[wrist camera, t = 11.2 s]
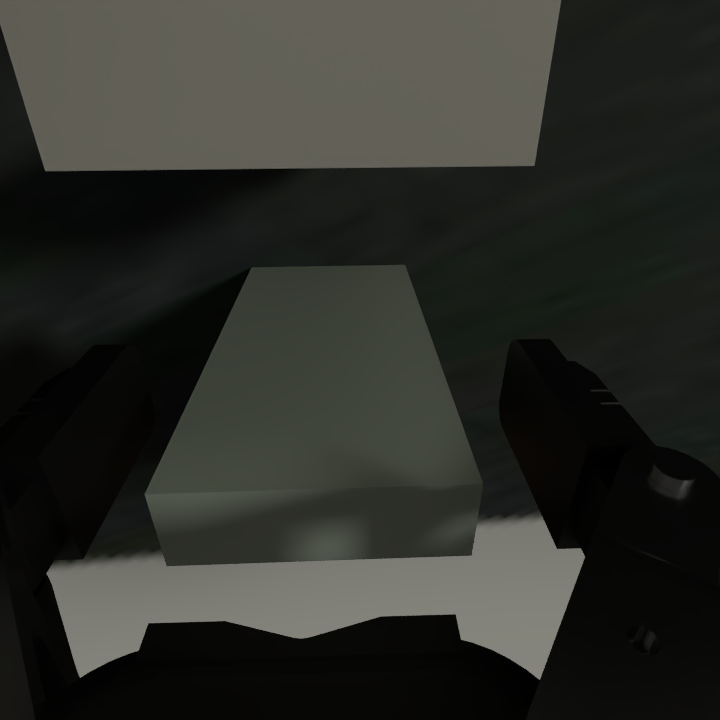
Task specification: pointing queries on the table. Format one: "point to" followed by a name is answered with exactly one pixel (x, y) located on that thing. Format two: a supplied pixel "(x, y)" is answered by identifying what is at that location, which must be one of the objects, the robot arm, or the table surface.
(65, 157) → the domino
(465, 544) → the sage domino
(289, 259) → the table surface
